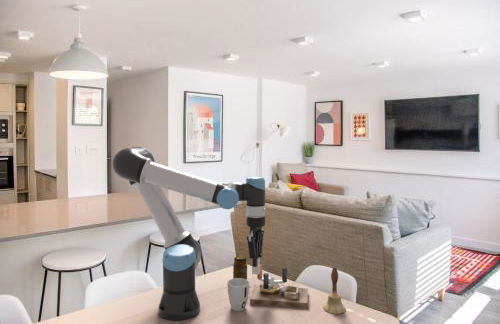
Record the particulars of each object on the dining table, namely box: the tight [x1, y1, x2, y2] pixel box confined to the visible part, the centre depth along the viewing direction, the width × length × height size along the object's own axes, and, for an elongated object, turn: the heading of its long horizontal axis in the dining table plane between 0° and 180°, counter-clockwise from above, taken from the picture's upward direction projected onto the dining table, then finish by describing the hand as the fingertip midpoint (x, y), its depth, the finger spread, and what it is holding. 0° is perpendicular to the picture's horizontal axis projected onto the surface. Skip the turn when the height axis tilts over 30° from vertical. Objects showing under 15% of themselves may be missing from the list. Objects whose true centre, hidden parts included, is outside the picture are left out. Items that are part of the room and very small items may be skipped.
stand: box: [249, 284, 309, 309], centre depth 156 cm, size 22×14×4 cm, turn 82°
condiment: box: [232, 255, 251, 289], centre depth 169 cm, size 7×8×12 cm
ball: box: [279, 285, 287, 294], centre depth 156 cm, size 3×3×3 cm
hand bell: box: [322, 266, 346, 315], centre depth 147 cm, size 8×8×16 cm
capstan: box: [256, 264, 288, 294], centre depth 156 cm, size 13×12×10 cm
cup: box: [227, 278, 250, 312], centre depth 147 cm, size 8×8×10 cm
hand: (255, 273), depth 157 cm, fingers closed
